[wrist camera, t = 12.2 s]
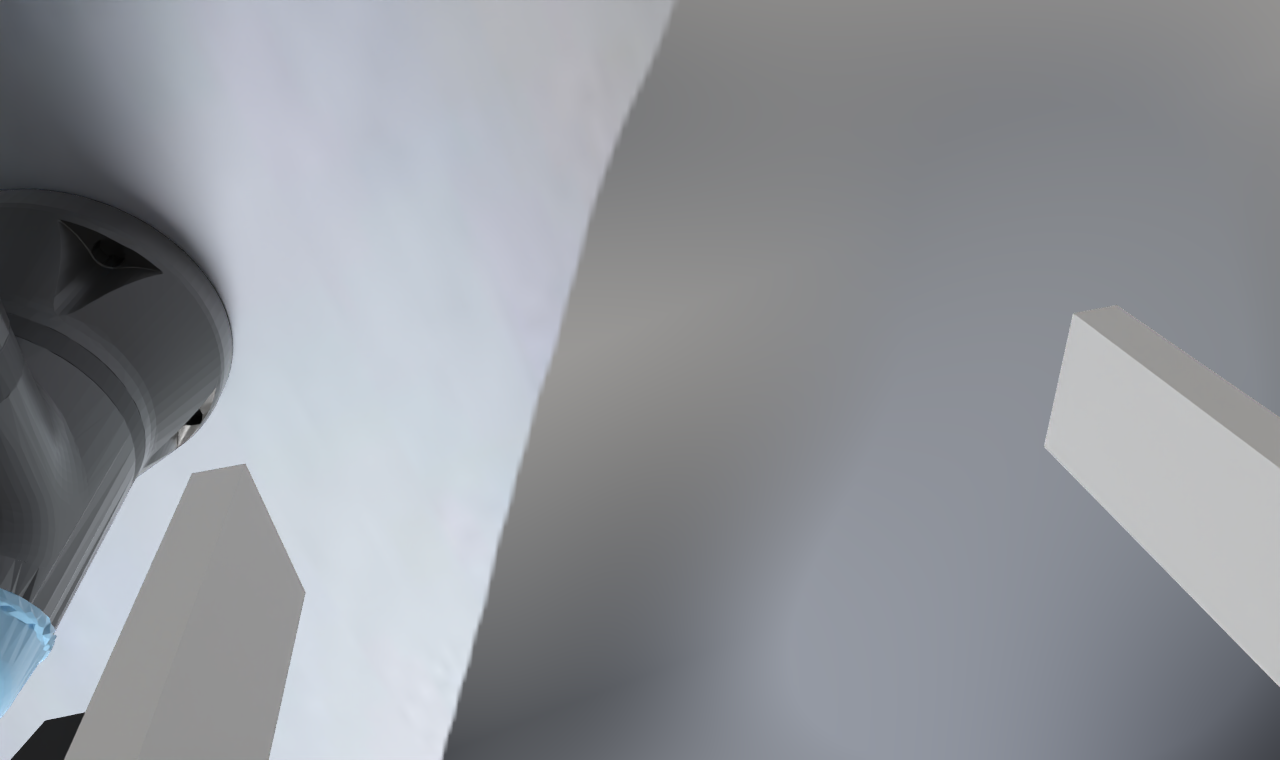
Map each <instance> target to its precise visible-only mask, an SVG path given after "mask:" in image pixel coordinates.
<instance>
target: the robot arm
mask: <svg viewBox="0 0 1280 760" xmlns="http://www.w3.org/2000/svg"><path fill="white" fill-rule="evenodd" d="M232 354H233V344H232V334H231V329H230V324H229V321H228V318H227V314H226V312H225V309H224V307H223V304H222V302H221V300H220V298H219V296H218V294H217V293H216V291H215V289H214V287H213V286H212V284H211V283H210V281H209V280H208V278H207V277H206V276H205V274H204V273H203V272H202V271H201V269H200V268H199V267H198V266H197V265H196V264H195V263H194V261H193V260H192V259H191V258H190V257H189V256H188V255H187V254H186V253H185V252H184V251H183V250H181V249H180V248H179V247H178V246H177V245H176V244H175V243H173V242H172V241H171V240H169V239H168V238H167V237H166V236H164V235H163V234H161V233H160V232H159V231H157V230H156V229H154V228H153V227H151V226H149V225H148V224H146V223H144V222H143V221H141V220H139V219H137V218H135V217H133V216H132V215H130V214H128V213H125V212H123V211H121V210H119V209H117V208H114V207H112V206H109V205H106V204H104V203H101V202H98V201H95V200H92V199H88V198H85V197H81V196H77V195H72V194H68V193H62V192H56V191H48V190H36V189H15V190H3V191H0V718H1V717H2V716H3V715H4V714H5V712H6V711H7V710H8V709H9V707H10V706H11V704H12V703H13V701H14V700H15V698H16V696H17V695H18V693H19V692H20V690H21V689H22V687H23V686H24V685H25V683H26V682H27V680H28V679H29V677H30V676H31V674H32V673H33V671H34V670H35V668H36V667H37V665H38V664H39V663H41V662H42V661H43V660H44V659H45V658H46V657H47V656H48V655H49V653H50V651H51V650H52V648H53V645H54V642H55V641H54V640H55V638H56V635H54V633H55V631H56V629H57V627H58V625H59V623H60V621H61V619H62V617H63V616H64V614H65V612H66V610H67V608H68V606H69V604H70V602H71V600H72V599H73V597H74V595H75V593H76V591H77V589H78V587H79V585H80V583H81V581H82V580H83V578H84V576H85V574H86V572H87V570H88V568H89V566H90V564H91V563H92V561H93V559H94V557H95V555H96V553H97V551H98V549H99V547H100V545H101V544H102V542H103V540H104V538H105V536H106V534H107V532H108V530H109V528H110V527H111V525H112V523H113V521H114V519H115V517H116V515H117V513H118V511H119V509H120V508H121V506H122V504H123V502H124V500H125V498H126V496H127V494H128V492H129V490H130V488H131V486H132V484H133V482H134V481H135V479H136V478H137V477H138V476H140V475H141V474H142V473H144V472H145V471H147V470H148V469H149V468H151V467H152V466H154V465H155V464H156V463H158V462H159V461H160V460H162V459H163V458H165V457H166V456H167V455H169V454H170V453H172V452H173V451H174V450H176V449H177V448H178V447H180V446H181V445H182V444H184V443H185V442H186V441H187V440H189V439H190V438H191V437H192V436H193V435H194V434H195V433H196V432H197V431H198V430H199V429H200V428H201V427H202V425H203V424H204V423H205V422H206V420H207V419H208V418H209V416H210V415H211V413H212V411H213V410H214V408H215V406H216V404H217V402H218V399H219V397H220V395H221V393H222V391H223V389H224V387H225V384H226V382H227V379H228V376H229V373H230V369H231V363H232ZM1044 447H1045V448H1046V449H1047V450H1048V451H1049V452H1050V453H1051V454H1052V455H1053V456H1054V457H1055V458H1056V459H1057V460H1058V461H1059V462H1060V463H1061V464H1062V465H1063V466H1064V467H1065V468H1066V469H1067V471H1068V472H1069V473H1070V474H1071V475H1072V476H1074V478H1075V479H1076V480H1077V481H1078V482H1079V483H1080V484H1081V485H1082V486H1084V488H1085V489H1086V490H1087V491H1088V492H1089V493H1090V494H1091V495H1092V496H1093V497H1094V498H1095V499H1096V500H1097V501H1098V502H1099V503H1100V504H1101V505H1102V506H1103V507H1104V508H1105V509H1106V510H1107V511H1108V512H1109V513H1110V514H1111V515H1112V516H1113V517H1114V518H1115V519H1116V520H1117V522H1118V523H1119V524H1121V526H1122V527H1123V528H1124V529H1125V530H1126V531H1127V532H1128V533H1129V534H1130V535H1131V536H1132V537H1133V538H1134V539H1135V540H1136V541H1137V542H1138V543H1139V544H1140V545H1141V546H1142V547H1143V548H1144V549H1145V550H1146V551H1147V552H1148V553H1149V554H1150V555H1151V556H1152V557H1153V558H1154V559H1155V560H1156V561H1157V562H1158V563H1159V564H1160V565H1161V566H1162V567H1163V568H1164V569H1165V570H1166V571H1167V572H1168V573H1169V574H1170V575H1171V577H1172V578H1173V579H1174V580H1175V581H1176V582H1177V583H1178V584H1179V585H1180V586H1181V587H1182V588H1183V589H1184V590H1185V591H1186V592H1187V593H1188V594H1189V595H1190V596H1191V597H1192V598H1193V599H1194V600H1195V601H1196V602H1197V603H1198V604H1199V605H1200V606H1201V607H1202V608H1203V609H1204V610H1205V611H1206V612H1207V613H1208V614H1209V615H1210V616H1211V617H1212V618H1213V619H1214V620H1215V621H1216V622H1217V623H1218V625H1219V626H1220V627H1221V628H1222V629H1224V631H1225V632H1226V633H1227V634H1228V635H1230V636H1231V638H1232V639H1233V640H1234V641H1235V642H1236V643H1237V644H1238V645H1239V646H1240V647H1241V648H1242V649H1243V650H1244V651H1245V652H1246V653H1247V654H1248V655H1249V656H1250V657H1251V658H1252V659H1253V660H1254V661H1255V662H1256V663H1257V664H1258V665H1259V666H1260V667H1261V668H1262V669H1263V670H1264V671H1265V672H1266V673H1267V675H1269V677H1270V678H1272V680H1273V681H1274V682H1275V683H1276V684H1277V685H1278V686H1279V687H1280V417H1278V416H1277V415H1276V414H1274V413H1273V412H1271V411H1270V410H1268V409H1267V408H1265V407H1264V406H1262V405H1261V404H1260V403H1258V402H1256V401H1255V400H1254V399H1252V398H1251V397H1249V396H1248V395H1246V394H1245V393H1244V392H1242V391H1241V390H1239V389H1238V388H1236V387H1235V386H1233V385H1232V384H1230V383H1229V382H1228V381H1226V380H1225V379H1223V378H1222V377H1220V376H1219V375H1217V374H1216V373H1215V372H1213V371H1212V370H1210V369H1209V368H1207V367H1206V366H1204V365H1203V364H1201V363H1200V362H1199V361H1197V360H1196V359H1194V358H1193V357H1191V356H1190V355H1188V354H1187V353H1185V352H1184V351H1183V350H1181V349H1180V348H1178V347H1177V346H1175V345H1174V344H1172V343H1171V342H1169V341H1168V340H1167V339H1165V338H1164V337H1162V336H1161V335H1159V334H1158V333H1156V332H1155V331H1153V330H1152V329H1151V328H1149V327H1148V326H1146V325H1145V324H1143V323H1142V322H1140V321H1139V320H1137V319H1136V318H1135V317H1133V316H1132V315H1130V314H1129V313H1127V312H1126V311H1124V310H1123V309H1122V308H1120V307H1119V306H1117V305H1115V306H1111V307H1104V308H1099V309H1093V310H1088V311H1082V312H1077V313H1073V316H1072V321H1071V325H1070V330H1069V334H1068V339H1067V344H1066V348H1065V353H1064V358H1063V362H1062V367H1061V371H1060V376H1059V380H1058V385H1057V390H1056V395H1055V399H1054V404H1053V408H1052V413H1051V417H1050V422H1049V426H1048V431H1047V436H1046V441H1045V445H1044ZM304 597H305V591H304V588H303V586H302V584H301V582H300V580H299V578H298V576H297V573H296V571H295V569H294V567H293V565H292V563H291V560H290V558H289V556H288V554H287V552H286V550H285V548H284V545H283V543H282V541H281V539H280V537H279V535H278V532H277V530H276V528H275V526H274V524H273V522H272V520H271V517H270V515H269V513H268V511H267V509H266V507H265V504H264V502H263V500H262V498H261V496H260V494H259V492H258V489H257V487H256V485H255V483H254V481H253V479H252V477H251V474H250V472H249V470H248V468H247V466H246V464H241V465H236V466H230V467H225V468H219V469H214V470H208V471H203V472H197V473H192V475H191V477H190V479H189V481H188V484H187V486H186V488H185V490H184V493H183V495H182V497H181V499H180V502H179V504H178V506H177V508H176V511H175V513H174V515H173V517H172V519H171V522H170V524H169V526H168V528H167V531H166V533H165V535H164V537H163V540H162V542H161V544H160V546H159V549H158V551H157V553H156V555H155V558H154V560H153V562H152V564H151V566H150V569H149V571H148V573H147V575H146V578H145V580H144V582H143V584H142V587H141V589H140V591H139V593H138V596H137V598H136V600H135V602H134V604H133V607H132V609H131V611H130V613H129V616H128V618H127V620H126V622H125V625H124V627H123V629H122V631H121V634H120V636H119V638H118V640H117V642H116V645H115V647H114V649H113V651H112V654H111V656H110V658H109V660H108V663H107V665H106V667H105V669H104V672H103V674H102V676H101V678H100V681H99V683H98V685H97V687H96V689H95V692H94V694H93V696H92V698H91V701H90V703H89V705H88V707H87V710H86V712H85V713H80V714H75V715H70V716H66V717H61V718H56V719H51V720H46V721H44V723H43V724H42V725H41V726H40V727H39V728H38V729H37V731H36V732H35V733H34V734H33V735H32V736H31V737H30V738H29V740H28V741H27V742H26V743H25V744H24V745H23V746H22V748H21V749H20V750H19V751H18V752H17V753H16V754H15V755H14V757H13V758H12V759H11V760H269V756H270V751H271V747H272V742H273V737H274V733H275V728H276V724H277V719H278V715H279V710H280V706H281V701H282V697H283V692H284V688H285V683H286V678H287V674H288V669H289V665H290V660H291V656H292V651H293V647H294V642H295V638H296V633H297V629H298V624H299V619H300V615H301V610H302V606H303V601H304Z"/></svg>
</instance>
